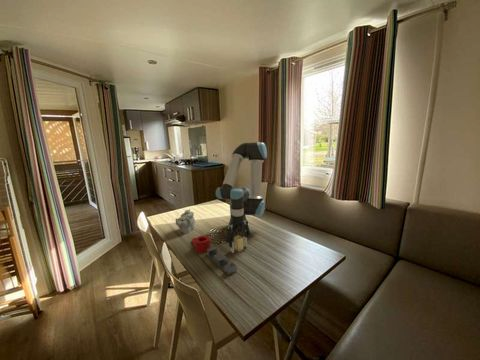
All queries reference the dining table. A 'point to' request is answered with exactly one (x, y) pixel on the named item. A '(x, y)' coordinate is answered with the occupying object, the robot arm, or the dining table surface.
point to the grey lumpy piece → (186, 222)
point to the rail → (221, 261)
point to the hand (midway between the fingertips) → (239, 249)
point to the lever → (201, 243)
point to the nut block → (238, 243)
